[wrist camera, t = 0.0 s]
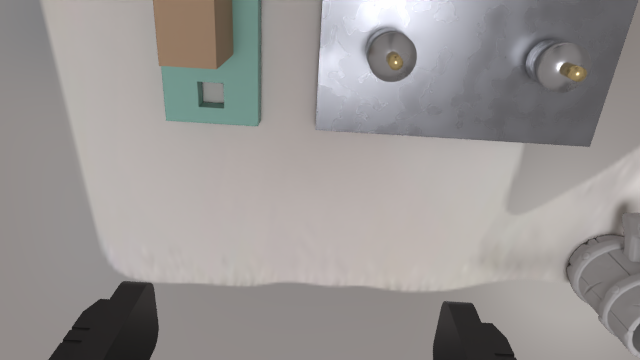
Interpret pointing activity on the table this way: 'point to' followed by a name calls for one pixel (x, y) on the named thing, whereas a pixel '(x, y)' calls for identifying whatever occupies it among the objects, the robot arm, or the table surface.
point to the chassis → (470, 67)
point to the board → (227, 74)
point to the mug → (612, 280)
